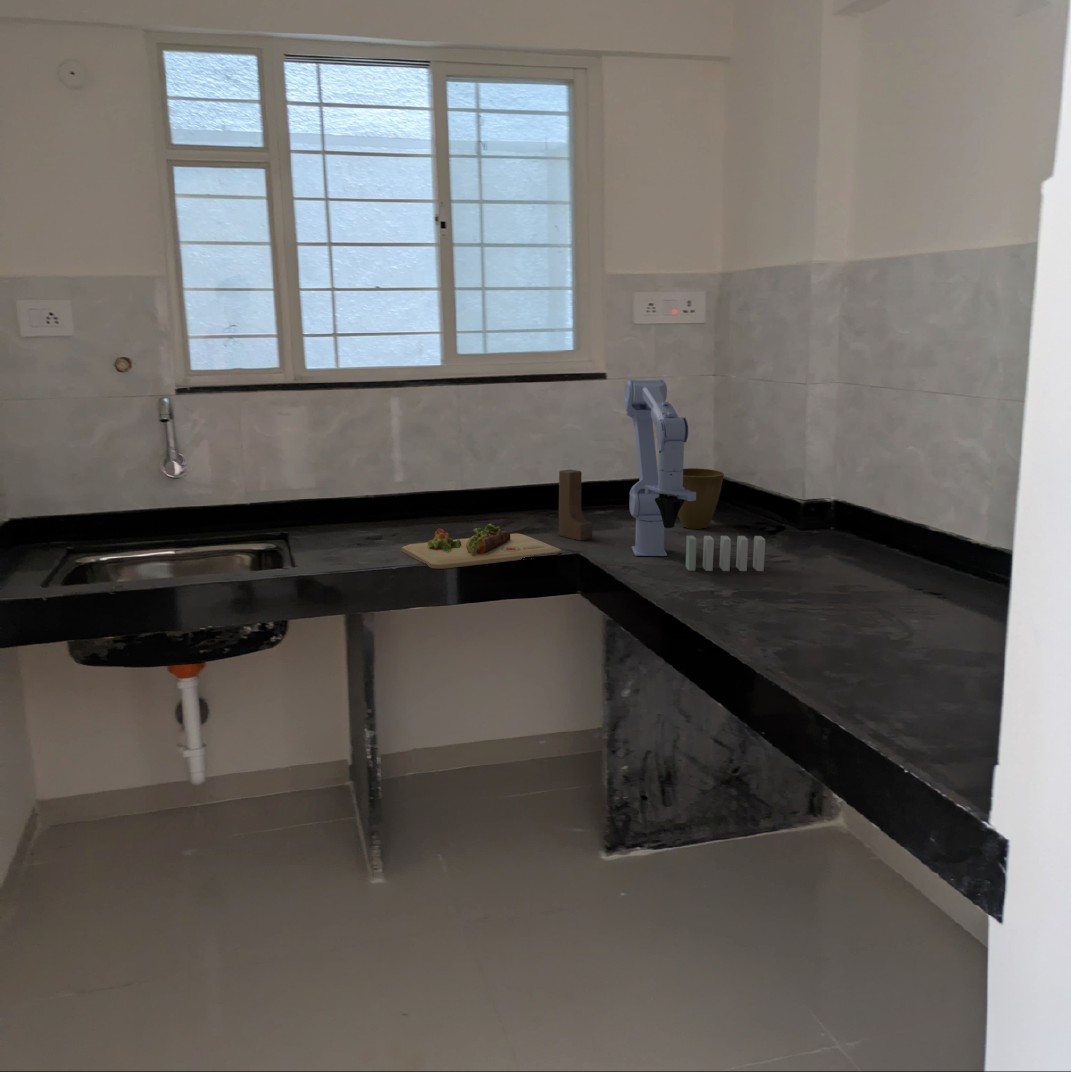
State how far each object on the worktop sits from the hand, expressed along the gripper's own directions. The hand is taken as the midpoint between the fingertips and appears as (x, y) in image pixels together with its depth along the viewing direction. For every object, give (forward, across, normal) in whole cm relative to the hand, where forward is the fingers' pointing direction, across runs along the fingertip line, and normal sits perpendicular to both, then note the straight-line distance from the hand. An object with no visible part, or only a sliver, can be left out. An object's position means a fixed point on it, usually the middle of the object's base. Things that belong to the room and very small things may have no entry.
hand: (668, 527), depth 231 cm
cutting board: (+11, +41, +25) cm, 49 cm away
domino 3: (+10, -8, -10) cm, 17 cm away
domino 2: (+10, -6, -7) cm, 14 cm away
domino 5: (+10, -14, -17) cm, 24 cm away
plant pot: (+10, +30, -43) cm, 53 cm away
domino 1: (+10, -3, -4) cm, 11 cm away
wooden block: (+10, +40, -6) cm, 42 cm away
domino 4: (+10, -11, -14) cm, 20 cm away
